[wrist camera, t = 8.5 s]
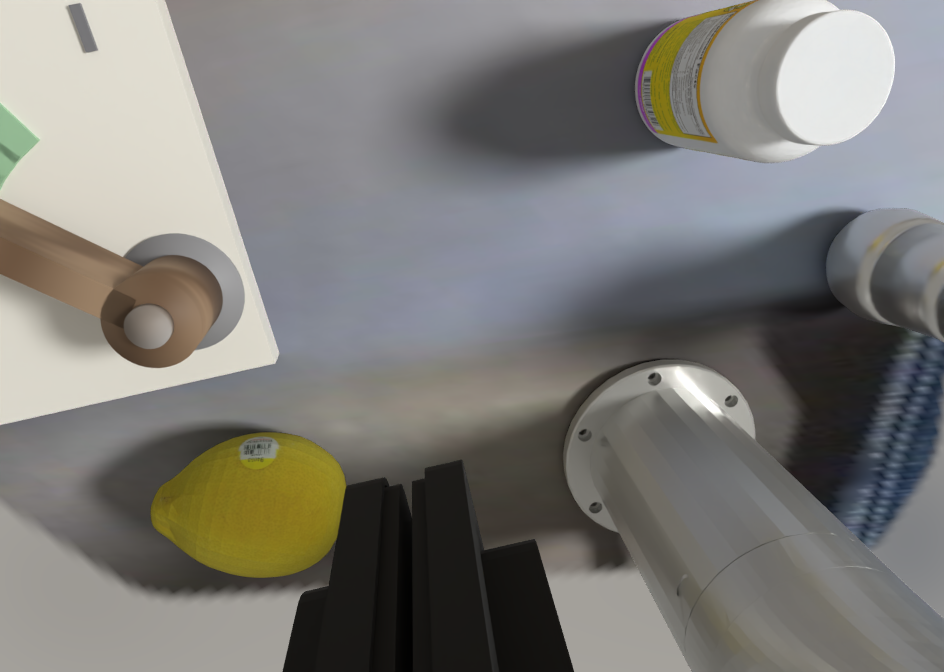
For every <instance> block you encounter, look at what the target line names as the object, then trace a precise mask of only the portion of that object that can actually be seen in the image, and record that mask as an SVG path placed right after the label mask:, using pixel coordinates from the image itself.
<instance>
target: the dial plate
mask: <svg viewBox="0 0 944 672" xmlns="http://www.w3.org/2000/svg"><path fill="white" fill-rule="evenodd" d="M0 199H2V200H4V201H6V202H8V203H10V204H12V205H14V206H16V207H19V208H21V209H23V210H25V211H27V212H29V213H31V214H33V215H35V216H38V217H40V218H42V219H44V220H46V221H48V222H50V223H52V224H54V225H56V226H59V227H61V228H63V229H65V230H67V231H69V232H71V233H73V234H75V235H78V236H80V237H82V238H84V239H86V240H88V241H90V242H92V243H94V244H97V245H99V246H101V247H103V248H105V249H107V250H109V251H111V252H113V253H115V254H118V255H120V256H122V257H124V258H126V259H128V260H130V261H132V262H134V263H137V264H139V265H141V266H143V267H144V266H145V265H146V264H148V263H149V262H151V261H152V260H154V259H156V258H159V257H162V256H167V255H180V256H185V257H189V258H192V259H194V260H196V261H198V262H200V263H202V264H203V265H204V266H206V267H207V268H208V269H209V270H210V271H211V272H212V273H213V274H214V276H215V277H216V279H217V280H218V282H219V284H220V287H221V290H222V295H223V305H222V310H221V313H220V315H219V317H218V318H217V320H216V321H215V323H214V324H213V326H212V327H211V328H210V330H209V331H208V332H207V334H206V335H205V337H204V338H203V339H202V341H201V342H200V343H199V345H198V346H197V348H196V349H195V350H194V352H193V353H192V354H191V355H190V356H189V357H188V358H187V359H185V360H184V361H182V362H180V363H178V364H176V365H173V366H170V367H165V368H148V367H143V366H139V365H137V364H134V363H132V362H130V361H128V360H126V359H125V358H123V357H122V356H120V355H119V354H118V353H117V352H116V351H115V350H114V349H113V348H112V347H111V346H110V344H109V343H108V342H107V340H106V338H105V336H104V334H103V331H102V327H101V321H100V318H98V317H95V316H93V315H91V314H89V313H86V312H84V311H82V310H80V309H77V308H75V307H73V306H71V305H68V304H66V303H64V302H62V301H60V300H57V299H55V298H53V297H51V296H48V295H46V294H44V293H42V292H39V291H37V290H35V289H33V288H30V287H28V286H26V285H24V284H21V283H19V282H17V281H15V280H12V279H10V278H8V277H6V276H3V275H1V274H0V425H2V424H6V423H11V422H15V421H20V420H24V419H29V418H33V417H38V416H42V415H47V414H51V413H56V412H60V411H65V410H69V409H73V408H78V407H82V406H87V405H91V404H96V403H100V402H105V401H109V400H114V399H118V398H123V397H127V396H132V395H136V394H140V393H145V392H149V391H154V390H158V389H163V388H167V387H172V386H176V385H181V384H185V383H190V382H194V381H199V380H203V379H207V378H212V377H216V376H221V375H225V374H230V373H234V372H239V371H243V370H248V369H252V368H257V367H261V366H266V365H270V364H274V363H276V360H277V358H278V355H279V351H278V348H277V345H276V342H275V339H274V336H273V333H272V329H271V326H270V323H269V320H268V317H267V314H266V311H265V308H264V305H263V302H262V299H261V296H260V292H259V289H258V286H257V283H256V280H255V277H254V274H253V271H252V268H251V265H250V262H249V258H248V255H247V252H246V249H245V246H244V243H243V240H242V237H241V234H240V231H239V228H238V225H237V221H236V218H235V215H234V212H233V209H232V206H231V203H230V200H229V197H228V194H227V191H226V188H225V184H224V181H223V178H222V175H221V172H220V169H219V166H218V163H217V160H216V157H215V154H214V151H213V147H212V144H211V141H210V138H209V135H208V132H207V129H206V126H205V123H204V120H203V117H202V114H201V110H200V107H199V104H198V101H197V98H196V95H195V92H194V89H193V86H192V83H191V80H190V77H189V73H188V70H187V67H186V64H185V61H184V58H183V55H182V52H181V49H180V46H179V43H178V40H177V36H176V33H175V30H174V27H173V24H172V21H171V18H170V15H169V12H168V9H167V6H166V3H165V0H0Z"/></svg>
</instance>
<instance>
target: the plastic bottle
mask: <svg viewBox="0 0 944 672" xmlns="http://www.w3.org/2000/svg"><path fill="white" fill-rule="evenodd" d="M826 274H827V280H828V285H829V287H830V289H831V291H832V293H833V295H834V296H835V297H836V298H837V300H838V301H839V302H841V303H842V304H843V305H844V306H846V307H847V308H848V309H849V310H851V311H852V312H853V313H855V314H856V315H857V316H860V317H862V318H865V319H868V320H871V321H875V322H879V323H882V324H888V325H894V326H900V327H903V328H906V329H909V330H912V331H915V332H918V333H921V334H924V335H927V336H930V337H933V338H936V339H939V340H941V341H942V342H944V223H943V222H941V221H939V220H937V219H935V218H933V217H930V216H928V215H926V214H923V213H921V212H918V211H916V210H912V209H907V208H888V209H876V210H872V211H868V212H866V213H864V214H862V215H860V216H858V217H857V218H855V219H854V220H852V221H851V222H850V223H848V224H847V225H846V226H845V227H844V228H843V229H842V230H841V231H840V232H839V233H838V235H837V236H836V237H835V239H834V240H833V242H832V244H831V246H830V249H829V252H828V255H827V261H826Z"/></svg>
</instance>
